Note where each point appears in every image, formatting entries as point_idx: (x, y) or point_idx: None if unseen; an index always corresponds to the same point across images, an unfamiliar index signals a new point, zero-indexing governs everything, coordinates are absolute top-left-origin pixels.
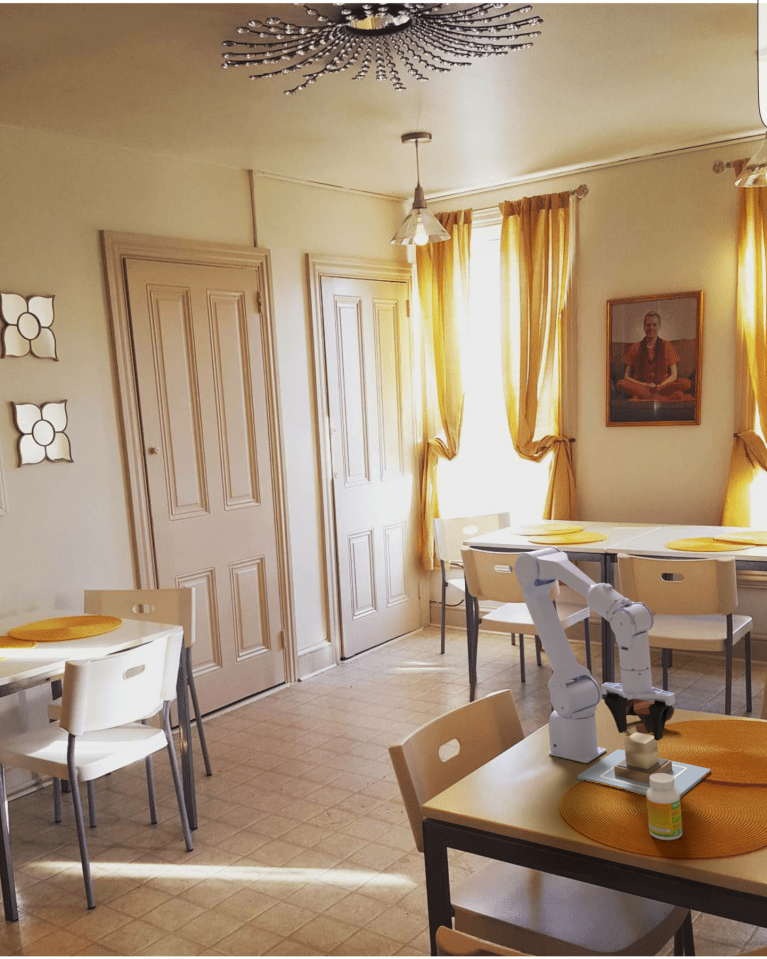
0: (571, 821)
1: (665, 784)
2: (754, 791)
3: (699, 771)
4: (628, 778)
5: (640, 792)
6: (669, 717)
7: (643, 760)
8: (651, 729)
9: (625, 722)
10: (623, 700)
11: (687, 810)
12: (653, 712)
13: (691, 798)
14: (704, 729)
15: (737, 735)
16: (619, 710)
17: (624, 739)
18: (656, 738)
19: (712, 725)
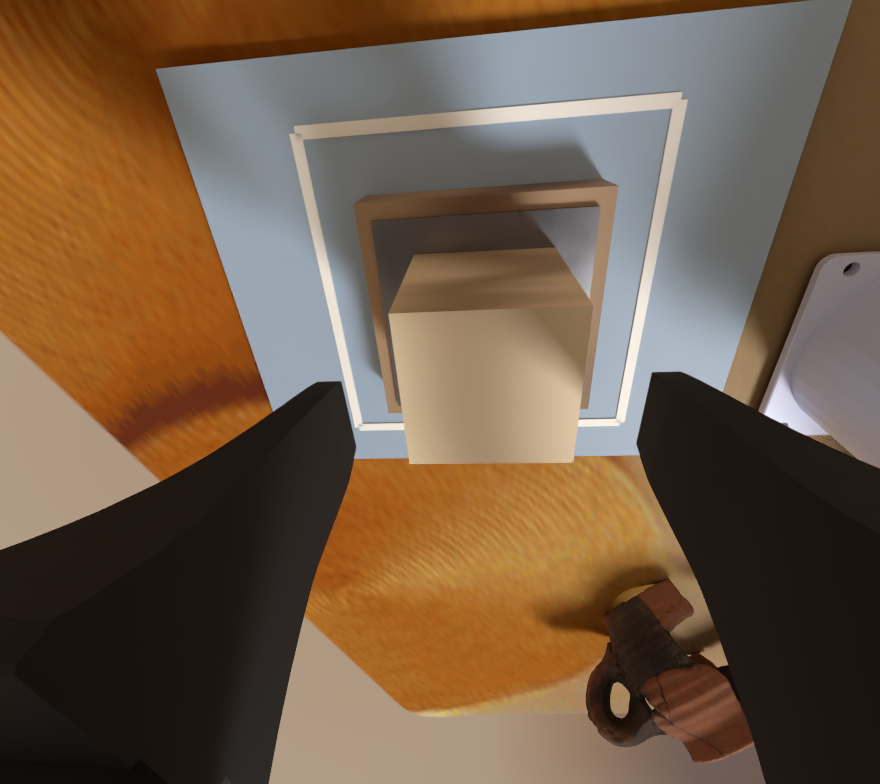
0: None
1: None
2: (82, 392)
3: None
4: (512, 184)
5: (359, 49)
6: (593, 676)
7: (430, 267)
8: (631, 612)
9: (663, 485)
10: (804, 745)
11: (54, 30)
12: (59, 566)
13: (162, 193)
14: (496, 657)
15: (401, 654)
16: (783, 552)
17: (591, 307)
18: (316, 386)
19: (490, 676)
